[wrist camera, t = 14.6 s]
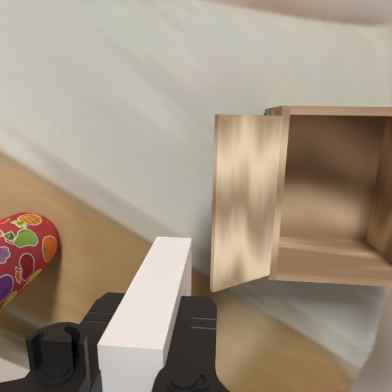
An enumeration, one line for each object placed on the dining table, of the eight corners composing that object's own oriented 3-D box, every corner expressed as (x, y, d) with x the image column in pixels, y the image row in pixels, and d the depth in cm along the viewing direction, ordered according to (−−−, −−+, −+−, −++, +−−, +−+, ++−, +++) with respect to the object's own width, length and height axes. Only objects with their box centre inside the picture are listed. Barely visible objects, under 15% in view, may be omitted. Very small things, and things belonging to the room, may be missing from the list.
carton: (368, 243, 33) (419, 288, 25) (257, 238, 34) (268, 279, 26) (390, 110, 30) (459, 107, 21) (266, 109, 31) (282, 105, 22)
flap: (269, 274, 25) (212, 292, 22) (266, 272, 25) (209, 289, 23) (282, 115, 22) (218, 114, 19) (278, 115, 22) (215, 114, 20)
